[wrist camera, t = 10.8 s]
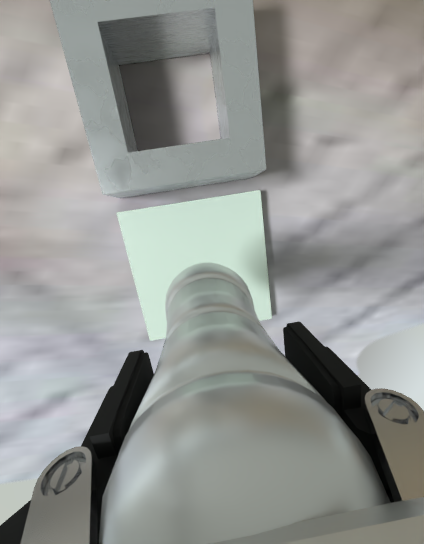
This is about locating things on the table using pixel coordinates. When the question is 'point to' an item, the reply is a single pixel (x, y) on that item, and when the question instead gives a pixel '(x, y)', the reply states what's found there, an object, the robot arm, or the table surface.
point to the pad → (195, 248)
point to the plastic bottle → (229, 432)
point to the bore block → (155, 46)
